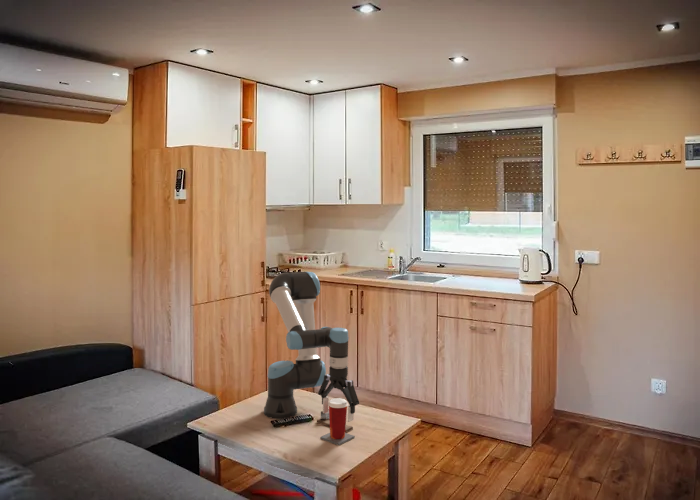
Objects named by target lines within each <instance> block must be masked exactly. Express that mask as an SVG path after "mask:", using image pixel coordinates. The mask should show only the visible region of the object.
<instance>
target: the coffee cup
mask: <svg viewBox="0 0 700 500" xmlns="http://www.w3.org/2000/svg"><path fill="white" fill-rule="evenodd" d="M348 406H349V403H348V401H347V399H345V398H341V397H338V398H337V397H336V398H331V399H329V403H328V409H329V418H328V419H329V420H330V427H329V433H330V437H331V438H333V439H343V438H344V437H345V433H346V432H345V428H346V425H347V423H346V422H347V416H348Z"/></svg>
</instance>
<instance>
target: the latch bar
mask: <svg viewBox="0 0 700 500" xmlns="http://www.w3.org/2000/svg"><path fill="white" fill-rule="evenodd" d="M320 418H322V419H329V408H328V412H327V413H323V410H322V411H320Z"/></svg>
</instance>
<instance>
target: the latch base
mask: <svg viewBox="0 0 700 500" xmlns="http://www.w3.org/2000/svg"><path fill="white" fill-rule="evenodd" d="M316 423H317V424H320V425H323V426H325V427H326V426H327V427H328V428H330V420H329V418H328V419H322V418H321V417H319V418H317V419H316ZM353 428H354V427H353V426H352V425H349V424H346V428H345V433H347V434H348V432H350V431H352V430H353V431H354V429H353Z"/></svg>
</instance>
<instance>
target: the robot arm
mask: <svg viewBox="0 0 700 500" xmlns="http://www.w3.org/2000/svg"><path fill="white" fill-rule="evenodd" d="M268 293H269V297H270V300H271V301H272V302H273V303H274V304H275V305H276V308H277V310H278V312H279V314H280V317H281V319H282V322H283V324H284V326H285V328H286V330H287V333H286V337H285V341H286V347H287V348H288V349H289V350H291V351H293V350H294V351H295V350H297V352H298V353H297V354H298V355H297V357H296V358H295V363H294V362H293V361H292V360H278V361H275V362H273V363H271V364H270V365H269V366H268V369H267V398H266V401H265V405H264V407H263V414H264V416H265V417H267V418H270V419H279V420H280V419H281V420H283V418H284V419H288V418H289V417H290V418H292V417H294V416H296V415H297V414H298V407H297V405H296V401H295V400H296V399H295V397H294V390H301V389H302V390H303V389H308V388H311V389H314V388H316V387H320V388H319V390H318V392H317V395H319V396H321V405H322V411H323V413H327V412H328V409H329V406H328V403H329V401H330V398H329V394H330V392H331V391H333V389H337V390H338V391H339V390H340V392H342V393H343V395H344V397H345V398H346V399H345V400H346V401H347V403H348V406H347V422H348V423H351V422H353V421H354V420H355V419H354V416H355V415H354V414H355V412H356V406H358V405H360V401H359V398H358V395H357V392H356V390H355V387H354V386H355V385H354V380H352V379H351V380H348V379H347V378H348V375H349V371H348V370H349V367H348V365H349V339H350V338H349V330H348V329H347V328H345V327H330V326H322V327H321V328H320V329H316V321H315V320H316V319H315V306H314V303H315V302H316V301H317V296H319V295H320V293H321V283H320V279H319V278H318V275H317V274H316V273H315V272H313V271H294V272H282V273H278V274H277V275H276V276H275V277H274V278H273V279H272V280H271V282H270V284H269V289H268ZM326 347H327V348H329V369H328V370H329V371H328V373H326V372H327V371H326V370H327V368H326V364H325V362H324V361H323V360H321V356H319V355H318V352H317V350H318V349H317V348H326ZM329 382H330V383H329Z"/></svg>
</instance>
